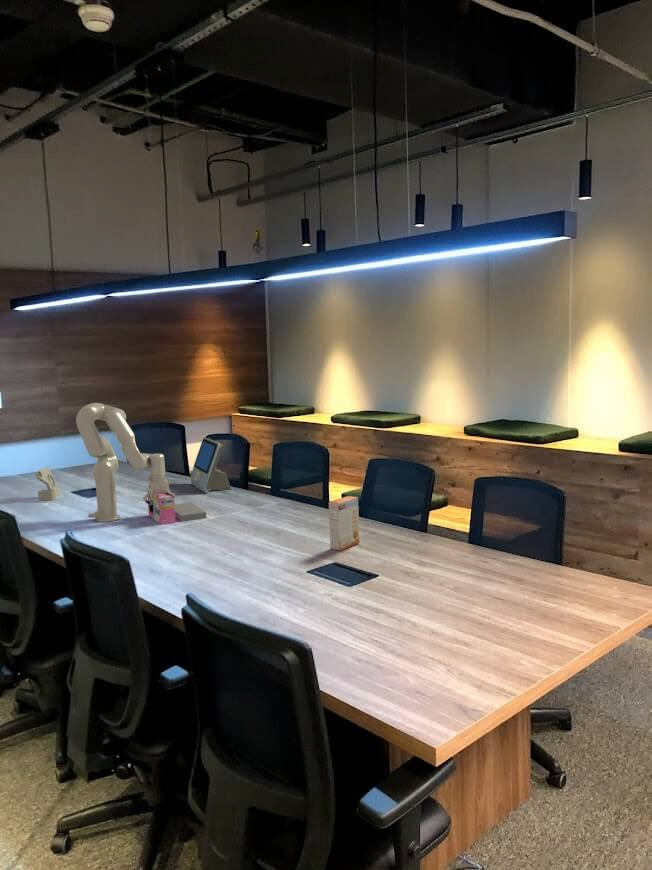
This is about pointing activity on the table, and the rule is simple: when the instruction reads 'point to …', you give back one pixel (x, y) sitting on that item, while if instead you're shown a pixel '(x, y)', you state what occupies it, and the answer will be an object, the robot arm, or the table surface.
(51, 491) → the phone holder
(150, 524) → the table surface
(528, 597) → the table surface
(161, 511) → the gum box
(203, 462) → the touchscreen device
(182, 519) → the base plinth
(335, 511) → the cracker box
